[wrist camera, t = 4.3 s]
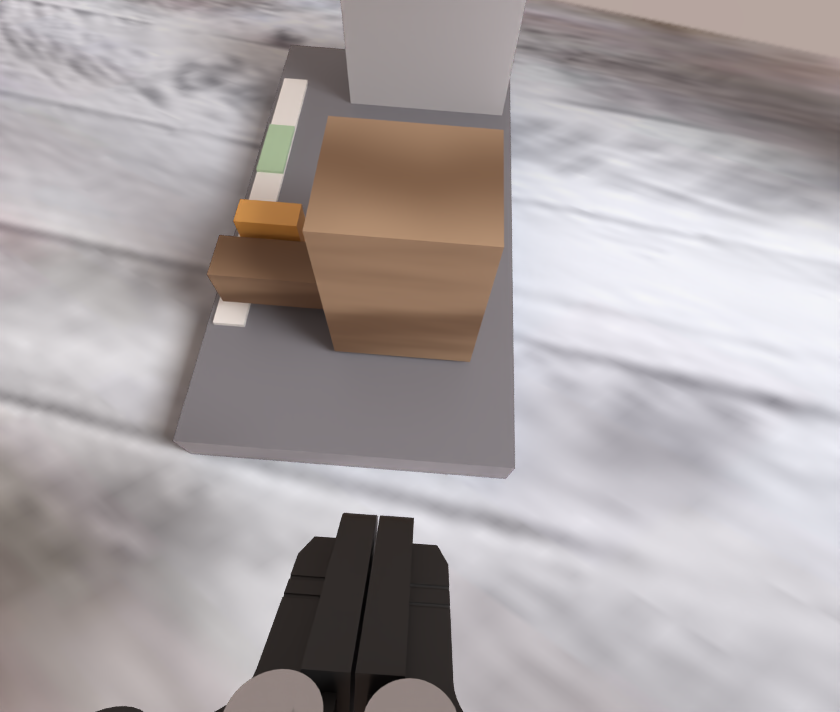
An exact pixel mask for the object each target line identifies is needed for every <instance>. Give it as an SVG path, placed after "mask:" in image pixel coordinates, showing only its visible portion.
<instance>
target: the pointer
mask: <svg viewBox="0 0 840 712" xmlns="http://www.w3.org/2000/svg"><path fill="white" fill-rule="evenodd" d="M233 222H234V224H235V226H236V228H237V231H238V233H239V235H240V237H249V238H262V239H274V240H287V241H299V242H305V239H304V235H303V227H304V222H305V215H304V211H303V207H302V204H297V203H285V202H272V201H260V200H247V199H240V201H239V204H238V207H237V211H236V214H235V217H234V220H233Z"/></svg>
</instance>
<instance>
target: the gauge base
mask: <svg viewBox="0 0 840 712" xmlns="http://www.w3.org/2000/svg"><path fill="white" fill-rule="evenodd" d="M340 1H341V11H342V21H343V31H344V40H345V49H335V48H323V47H310V46H298V45H291V46H290V49H289V53H288V56H287V60H286V63H285V66H284V70H283V73H282V76H281V80H280V83H279V86H278V90H277V93H276V96H275V100H274V103H273V107H272V110H271V113H270V117H269V120H268V123H267V127H266V130H265V133H264V137H263V140H262V143H261V147H260V150H259V153H258V157H257V160H256V164H255V167H254V170H253V174H252V177H251V180H250V184H249V187H248V190H247V194H246V197H245V199H247V200H260V201H272V202H285V203H297V204H302V207H303V211H304V215H305V218H306V213H307V209H308V204H309V200H310V195H311V191H312V186H313V182H314V177H315V173H316V168H317V164H318V159H319V155H320V150H321V146H322V141H323V137H324V132H325V128H326V123H327V119H328V116H337V117H349V118H362V119H374V120H386V121H399V122H411V123H424V124H436V125H449V126H461V127H474V128H486V129H499V130H504V249H503V253H502V256H501V259H500V263H499V266H498V269H497V273H496V276H495V280H494V283H493V286H492V290H491V293H490V296H489V300H488V303H487V306H486V310H485V313H484V316H483V320H482V323H481V326H480V330H479V333H478V337H477V340H476V343H475V347H474V350H473V353H472V357H471V360H470V362H465V361H453V360H440V359H428V358H415V357H403V356H390V355H378V354H365V353H352V352H340V351H335V350H334V347H333V343H332V339H331V335H330V332H329V328H328V324H327V321H326V317H325V313H324V309H314V308H302V307H289V306H277V305H264V304H252V303H239V302H226V301H223V300H222V299H221V297H220V295H219V294H218V292H217V294H216V298H215V301H214V304H213V308H212V311H211V314H210V318H209V321H208V325H207V328H206V331H205V335H204V338H203V341H202V345H201V348H200V351H199V355H198V358H197V361H196V365H195V368H194V371H193V375H192V378H191V382H190V385H189V388H188V392H187V395H186V398H185V402H184V405H183V408H182V412H181V415H180V418H179V422H178V425H177V428H176V432H175V435H174V439H173V442H175V443H176V444H178V445H179V446H181V447H182V448H184V449H185V450H187V451H188V452H189V453H191V454H200V455H213V456H226V457H238V458H251V459H263V460H276V461H288V462H301V463H314V464H326V465H339V466H351V467H364V468H377V469H389V470H402V471H414V472H427V473H440V474H452V475H465V476H477V477H490V478H503V479H506V478H507V477H508V475H509V474H510V473H511V472H512V471H513V470H514V469H515V435H514V359H513V282H512V206H511V130H510V75H511V70H512V66H513V61H514V56H515V51H516V47H517V42H518V37H519V32H520V28H521V23H522V18H523V14H524V9H525V4H526V0H340ZM234 236H237V237H240V235H239V233H238V231H237V228H236V231H235V234H234Z"/></svg>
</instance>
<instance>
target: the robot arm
mask: <svg viewBox="0 0 840 712" xmlns="http://www.w3.org/2000/svg"><path fill="white" fill-rule="evenodd" d="M377 524H378V516H377V515H365V514H352V513H343V515H342V518H341V522H340V525H339V529H338V533H337V536H336V538H329V537H314V538H313V539H312V540H311V541H310V542H309V543H308V544H307V545H306V546H305V547H304V548H303V549H302V550H301V551H300V552H299V553H298V556H297V559H296V561H295V564H294V567H293V570H292V572H291V577H290V579H289V581H288V583H287V586H286V589H285V592H284V597H282V600H281V603H280V606H279V608H278V611H277V614H276V617H275V619H274V622H273V625H272V628H271V630H270V633H269V636H268V639H267V642H266V644H265V647H264V650H263V653H262V655H261V658H260V661H259V664H258V666H257V669H256V671H255V673H254V676H253V677H252V679H250V680H249V681H247V682H246V683H245V684H243V685H242V686H241V687H240V688H239V689H238V690H237V691H236V692H235V694H234V695H233V696H232V697H231V699H230V700H229V702H228V704H227V705H225V706H224V707H222V708H221V709H219V710H217V711H215V712H463V710H462V709H461V707H460V705H459V703H458V701H457V698H456V695H455V691H454V684H453V665H452V642H451V619H450V596H449V573H448V563H447V562H446V560H445V558H444V556H443V555H442V553H441V551H440V549H439V548H438V546H437V545H426V544H412V543H413V525H414V518H408V517H394V516H381V515H380V519H379V525H378V531H377ZM97 712H143V711H141V710H139V709H137V708H134V707H127V706H119V707H111V708H106V709H103V710H100V711H97Z"/></svg>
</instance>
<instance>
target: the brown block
mask: <svg viewBox="0 0 840 712" xmlns="http://www.w3.org/2000/svg"><path fill="white" fill-rule="evenodd" d="M303 235H304V239H305V242H299V241H287V240H274V239H262V238H249V237H237V236H224V235H219V238H218V241H217V244H216V247H215V250H214V253H213V257H212V260H211V263H210V266H209V269H208V272H207V276H208V277H209V279H210V281H211V282H212V284H213V286H214V287H215V289H216V290H217V292H218V294H219V295H220V297H221V299H222V300H223V301H226V302H239V303H252V304H264V305H277V306H289V307H302V308H314V309H324V313H325V317H326V321H327V324H328V328H329V332H330V335H331V339H332V343H333V347H334V350H335V351H340V352H352V353H365V354H378V355H390V356H403V357H415V358H428V359H440V360H453V361H465V362H470V360H471V357H472V353H473V350H474V347H475V343H476V340H477V337H478V333H479V330H480V326H481V323H482V320H483V316H484V313H485V310H486V306H487V303H488V300H489V296H490V293H491V290H492V286H493V283H494V280H495V276H496V273H497V269H498V266H499V263H500V259H501V256H502V253H503V249H504V130H499V129H486V128H474V127H461V126H449V125H436V124H424V123H411V122H399V121H386V120H374V119H362V118H349V117H337V116H328V119H327V123H326V128H325V132H324V137H323V141H322V146H321V150H320V155H319V159H318V164H317V168H316V173H315V177H314V182H313V186H312V191H311V195H310V200H309V204H308V209H307V213H306V218H305V222H304V227H303Z"/></svg>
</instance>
